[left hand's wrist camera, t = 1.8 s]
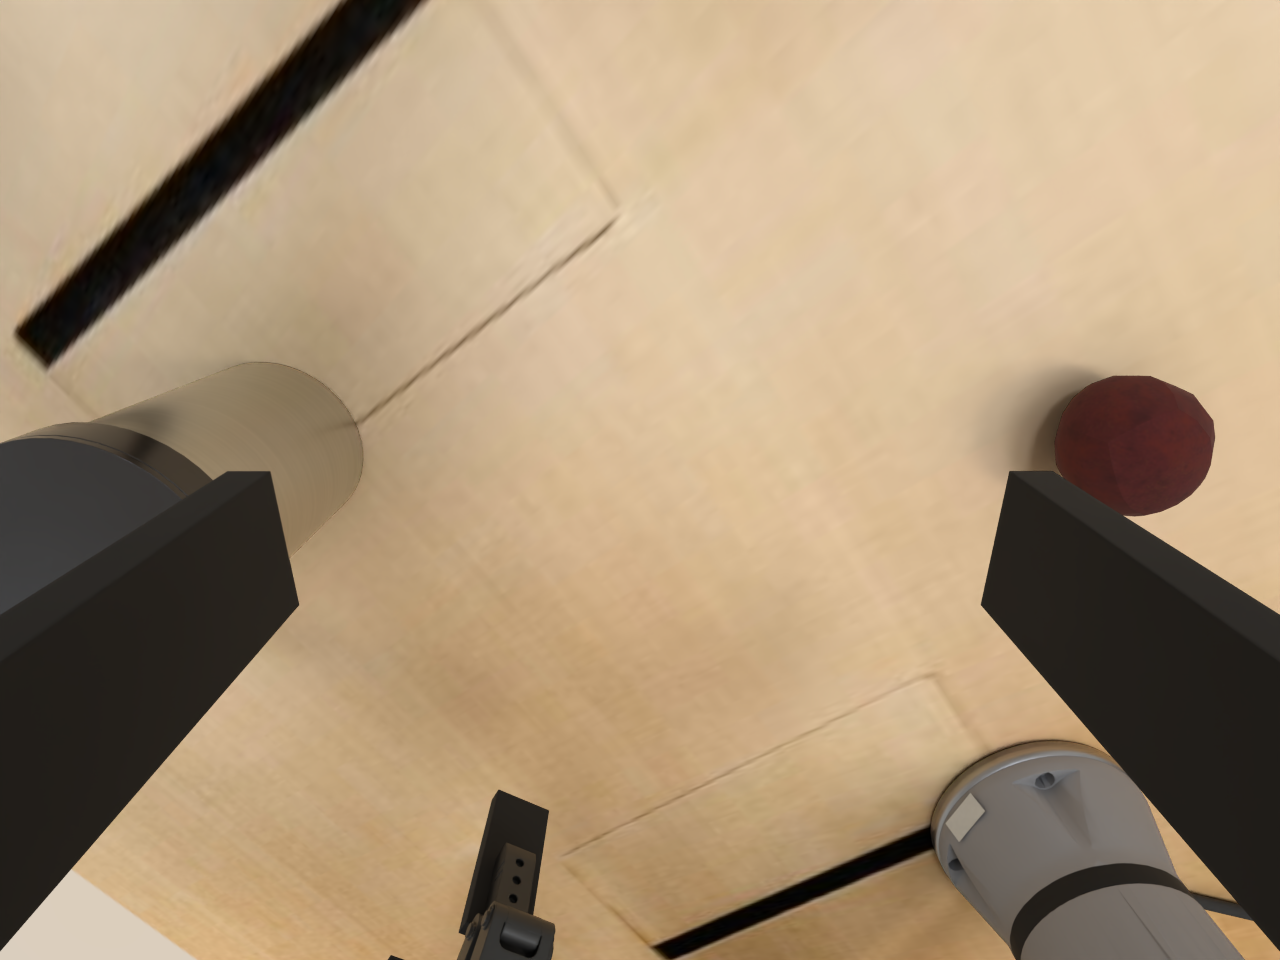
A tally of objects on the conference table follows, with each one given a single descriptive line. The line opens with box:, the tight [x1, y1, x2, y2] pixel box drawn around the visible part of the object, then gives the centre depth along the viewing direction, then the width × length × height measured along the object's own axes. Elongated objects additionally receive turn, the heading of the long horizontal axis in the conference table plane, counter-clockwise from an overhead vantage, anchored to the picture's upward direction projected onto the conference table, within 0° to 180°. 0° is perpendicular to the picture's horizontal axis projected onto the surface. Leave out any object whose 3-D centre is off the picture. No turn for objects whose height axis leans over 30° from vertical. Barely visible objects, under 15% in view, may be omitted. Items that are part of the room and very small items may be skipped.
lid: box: [0, 422, 213, 615], centre depth 28 cm, size 11×11×2 cm
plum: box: [1055, 376, 1215, 516], centre depth 37 cm, size 7×8×7 cm
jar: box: [88, 362, 363, 558], centre depth 34 cm, size 10×10×15 cm
